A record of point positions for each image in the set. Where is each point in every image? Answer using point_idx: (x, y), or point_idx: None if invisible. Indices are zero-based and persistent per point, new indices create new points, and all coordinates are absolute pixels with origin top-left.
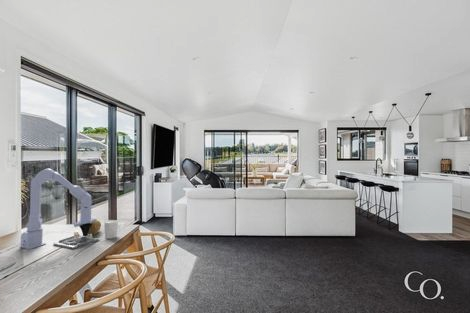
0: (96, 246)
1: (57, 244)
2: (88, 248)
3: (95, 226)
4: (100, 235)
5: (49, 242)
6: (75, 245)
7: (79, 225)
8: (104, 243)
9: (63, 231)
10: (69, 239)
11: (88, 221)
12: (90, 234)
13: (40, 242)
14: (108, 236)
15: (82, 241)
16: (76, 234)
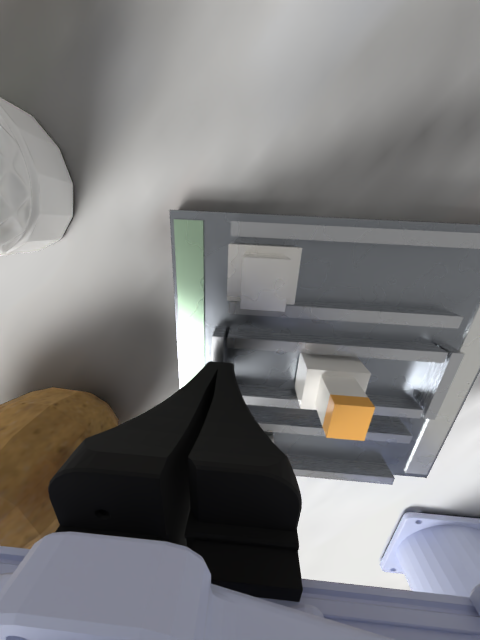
0: (376, 23)
1: (443, 441)
2: (476, 70)
3: (2, 436)
4: (56, 332)
5: (360, 516)
6: (462, 275)
7: (385, 599)
8: (227, 22)
9: None
10: None
11: None
12: (272, 261)
13: (458, 545)
14: (40, 147)
15: (331, 303)
16: (353, 427)
